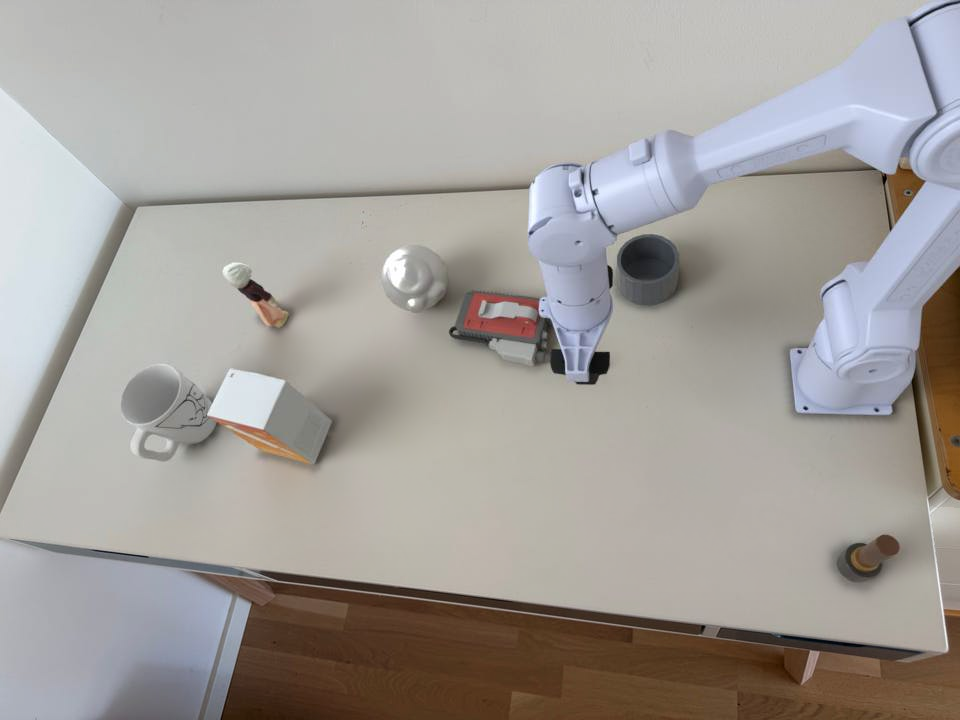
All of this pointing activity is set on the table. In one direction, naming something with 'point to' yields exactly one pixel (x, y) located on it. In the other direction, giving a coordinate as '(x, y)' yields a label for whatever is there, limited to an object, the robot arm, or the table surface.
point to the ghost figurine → (414, 278)
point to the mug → (165, 410)
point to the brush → (866, 558)
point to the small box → (270, 415)
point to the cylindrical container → (647, 269)
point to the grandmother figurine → (255, 294)
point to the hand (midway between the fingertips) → (587, 349)
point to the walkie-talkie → (504, 325)
